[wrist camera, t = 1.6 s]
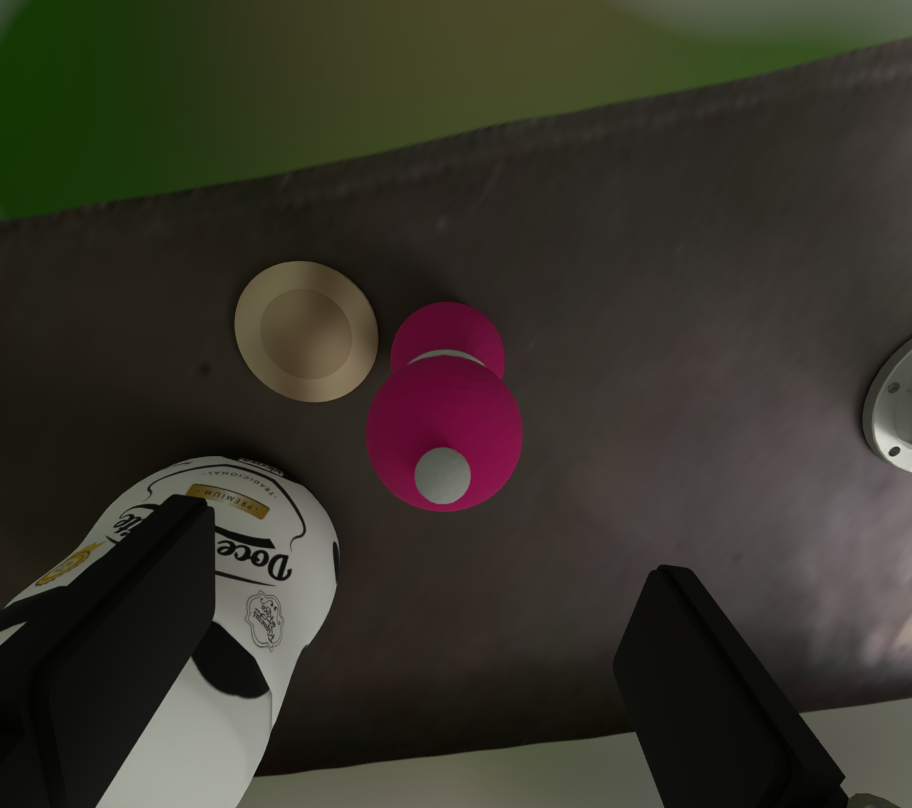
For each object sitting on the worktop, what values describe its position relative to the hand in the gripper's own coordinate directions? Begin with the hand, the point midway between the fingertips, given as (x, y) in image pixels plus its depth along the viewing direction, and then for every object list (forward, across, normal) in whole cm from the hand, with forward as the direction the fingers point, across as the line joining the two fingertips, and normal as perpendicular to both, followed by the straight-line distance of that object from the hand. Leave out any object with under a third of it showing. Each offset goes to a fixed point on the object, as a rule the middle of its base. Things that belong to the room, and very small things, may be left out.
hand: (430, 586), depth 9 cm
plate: (+24, +10, +1) cm, 26 cm away
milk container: (+24, +14, +19) cm, 34 cm away
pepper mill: (+24, 0, 0) cm, 24 cm away
